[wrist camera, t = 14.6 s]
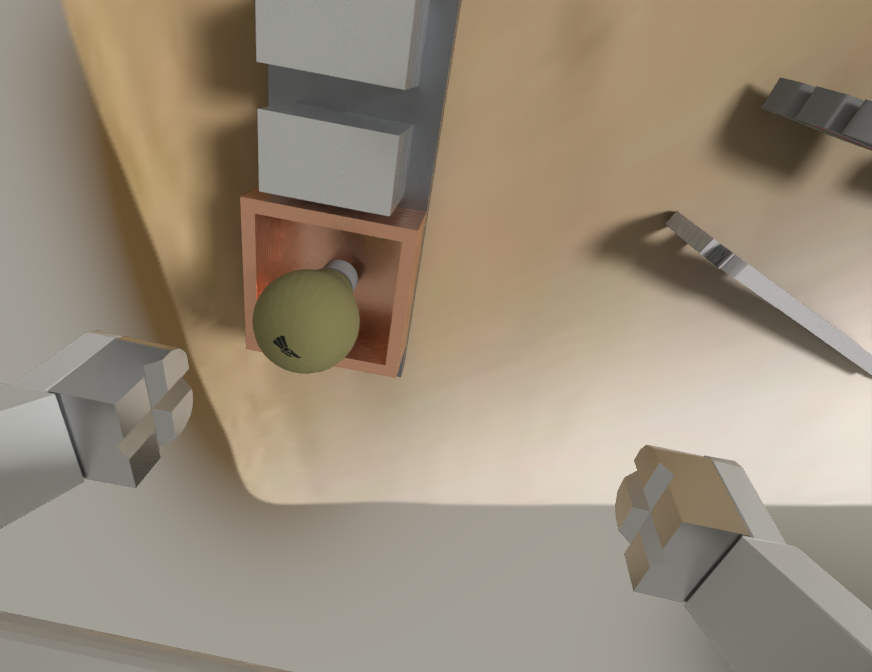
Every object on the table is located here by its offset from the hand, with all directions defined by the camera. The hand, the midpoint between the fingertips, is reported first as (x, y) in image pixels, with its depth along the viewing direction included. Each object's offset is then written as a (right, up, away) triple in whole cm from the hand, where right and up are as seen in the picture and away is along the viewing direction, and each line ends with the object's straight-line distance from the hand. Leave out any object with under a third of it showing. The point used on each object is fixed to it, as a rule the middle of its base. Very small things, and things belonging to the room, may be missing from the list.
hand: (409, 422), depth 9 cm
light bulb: (-6, +6, +24) cm, 25 cm away
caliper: (+24, +4, +24) cm, 34 cm away
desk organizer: (-5, +10, +24) cm, 26 cm away
